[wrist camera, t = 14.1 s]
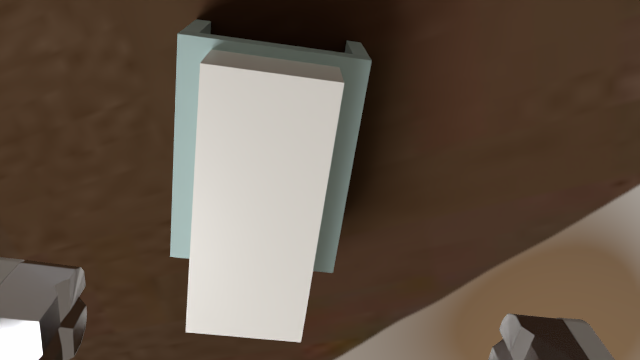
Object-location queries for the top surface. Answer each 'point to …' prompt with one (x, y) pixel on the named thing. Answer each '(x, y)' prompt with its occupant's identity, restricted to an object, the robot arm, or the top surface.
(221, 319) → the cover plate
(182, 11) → the top surface
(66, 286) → the robot arm
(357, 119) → the case
